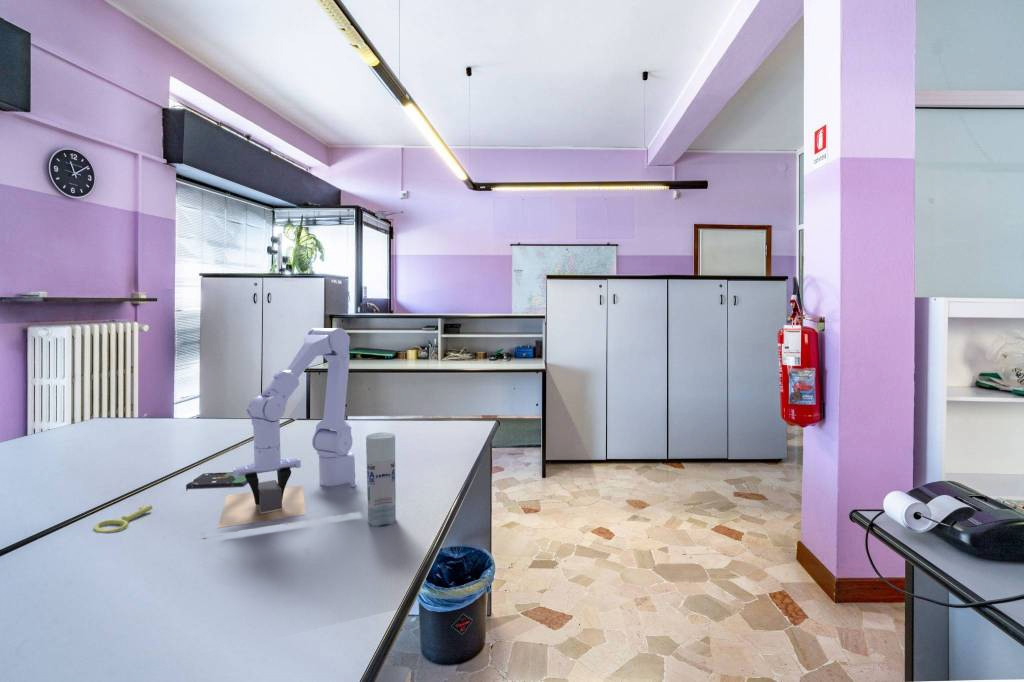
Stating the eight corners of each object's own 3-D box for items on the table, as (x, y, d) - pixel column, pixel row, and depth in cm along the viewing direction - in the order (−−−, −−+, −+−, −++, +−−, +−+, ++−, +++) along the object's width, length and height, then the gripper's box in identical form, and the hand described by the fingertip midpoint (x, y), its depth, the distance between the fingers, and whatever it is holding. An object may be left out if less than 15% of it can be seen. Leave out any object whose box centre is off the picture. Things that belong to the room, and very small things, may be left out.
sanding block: (276, 499, 128) (275, 479, 128) (282, 509, 122) (281, 489, 121) (256, 503, 126) (255, 483, 125) (261, 513, 119) (260, 492, 119)
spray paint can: (365, 517, 120) (364, 434, 119) (393, 513, 123) (392, 431, 122) (369, 528, 114) (368, 440, 113) (398, 523, 117) (397, 437, 116)
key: (154, 512, 125) (154, 504, 124) (120, 534, 112) (119, 525, 112) (123, 513, 124) (122, 504, 124) (85, 535, 112) (84, 526, 112)
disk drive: (185, 495, 137) (244, 491, 139) (185, 485, 137) (244, 481, 139) (203, 482, 147) (257, 479, 149) (202, 473, 147) (257, 470, 149)
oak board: (302, 489, 139) (302, 485, 139) (306, 519, 119) (306, 514, 119) (227, 499, 132) (226, 495, 132) (217, 533, 112) (217, 527, 112)
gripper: (295, 438, 130) (297, 490, 131) (231, 446, 122) (233, 502, 123) (301, 444, 124) (303, 498, 125) (234, 453, 116) (236, 511, 117)
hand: (268, 501), depth 124 cm, fingers closed on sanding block, 4 cm apart
